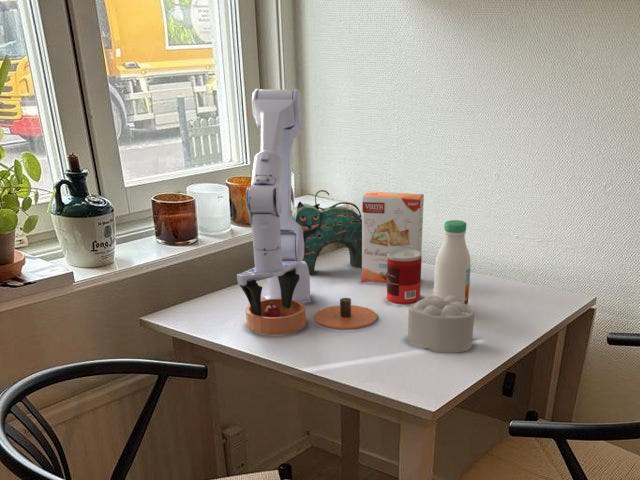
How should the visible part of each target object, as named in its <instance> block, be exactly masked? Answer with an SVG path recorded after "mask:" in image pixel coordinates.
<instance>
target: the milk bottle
mask: <svg viewBox="0 0 640 480" xmlns="http://www.w3.org/2000/svg"><path fill="white" fill-rule="evenodd" d="M467 224H468V223H467V222H466V221H464V220H459V219H451V220H446V221H445V222H444V225H443V226H444V227H443V233H444V238H443V242H442V244H441V246H440V248H439V251H438V253H437V255H436V259H435V264H434V265H435V266H434V275H433V276H434V278H433V295H435V296H438V297H440V298H444V299H446V298H447V297H448V296H457V297H458V298H459V299H460V300H461V302H462V303H465V304H466V305H468V306H469V297H470V296H469V294H470V282H471V266H472V265H471V256H470V253H469V249H468V246H467V243H466V238H465V237H466V233H467V226H468V225H467Z"/></svg>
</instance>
